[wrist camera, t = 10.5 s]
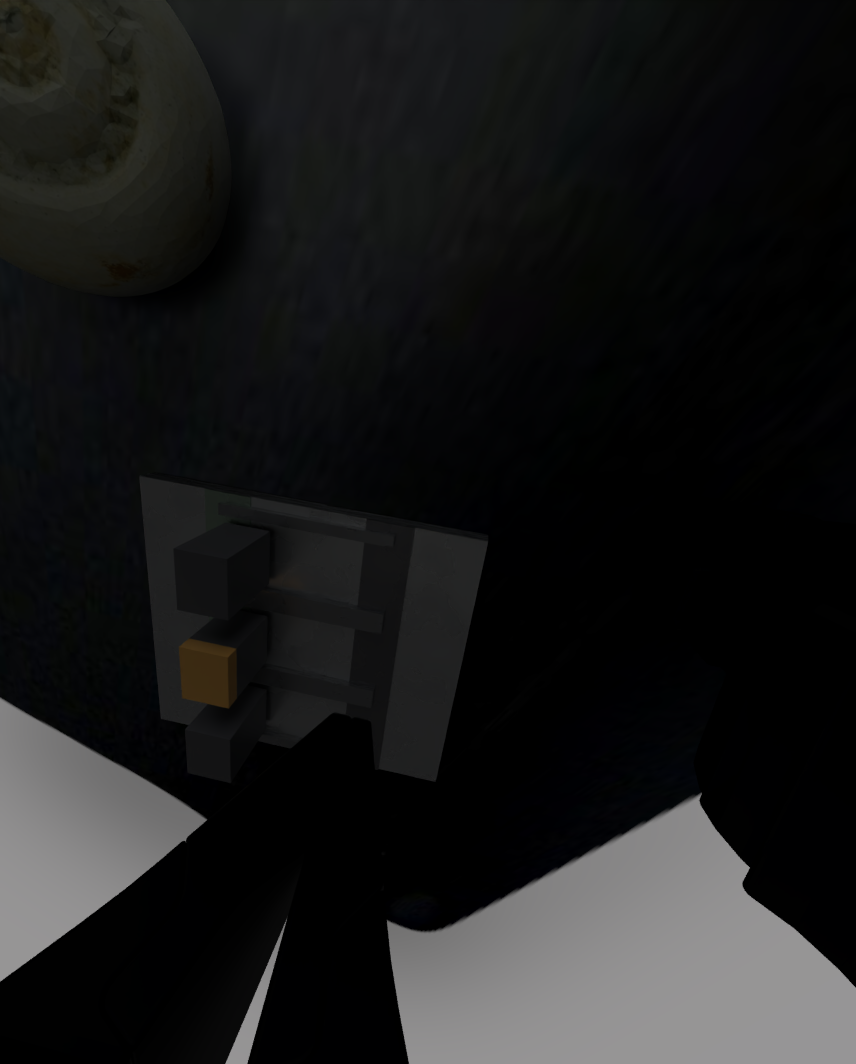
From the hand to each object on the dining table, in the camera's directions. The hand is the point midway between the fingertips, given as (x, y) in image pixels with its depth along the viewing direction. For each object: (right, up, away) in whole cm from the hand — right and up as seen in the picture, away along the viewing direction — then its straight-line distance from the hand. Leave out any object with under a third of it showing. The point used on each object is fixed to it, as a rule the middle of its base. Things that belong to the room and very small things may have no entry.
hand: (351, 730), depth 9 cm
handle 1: (-8, +3, +12) cm, 15 cm away
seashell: (-12, +20, +9) cm, 25 cm away
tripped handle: (-9, -2, +14) cm, 17 cm away
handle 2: (-9, -6, +16) cm, 19 cm away
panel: (-5, -2, +15) cm, 16 cm away
